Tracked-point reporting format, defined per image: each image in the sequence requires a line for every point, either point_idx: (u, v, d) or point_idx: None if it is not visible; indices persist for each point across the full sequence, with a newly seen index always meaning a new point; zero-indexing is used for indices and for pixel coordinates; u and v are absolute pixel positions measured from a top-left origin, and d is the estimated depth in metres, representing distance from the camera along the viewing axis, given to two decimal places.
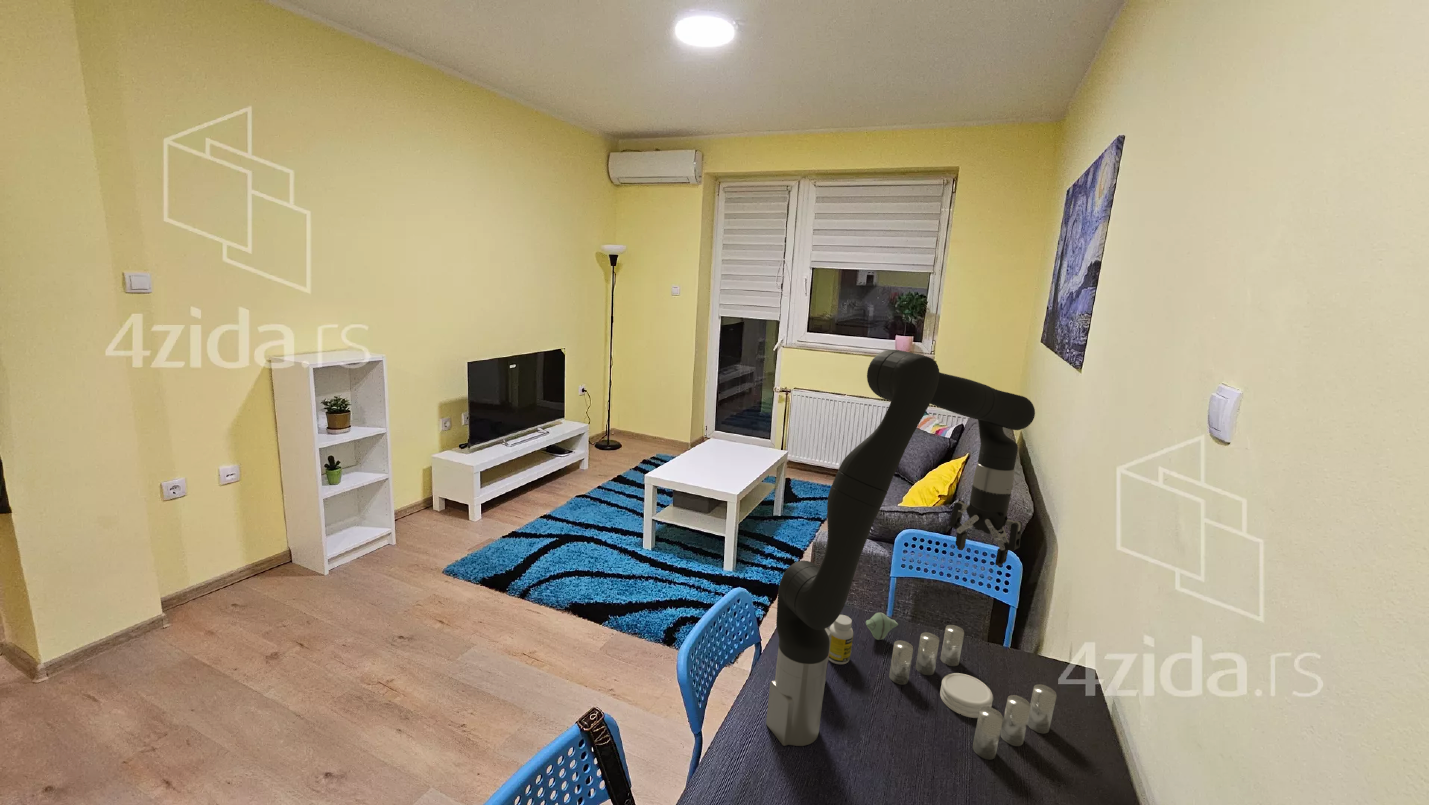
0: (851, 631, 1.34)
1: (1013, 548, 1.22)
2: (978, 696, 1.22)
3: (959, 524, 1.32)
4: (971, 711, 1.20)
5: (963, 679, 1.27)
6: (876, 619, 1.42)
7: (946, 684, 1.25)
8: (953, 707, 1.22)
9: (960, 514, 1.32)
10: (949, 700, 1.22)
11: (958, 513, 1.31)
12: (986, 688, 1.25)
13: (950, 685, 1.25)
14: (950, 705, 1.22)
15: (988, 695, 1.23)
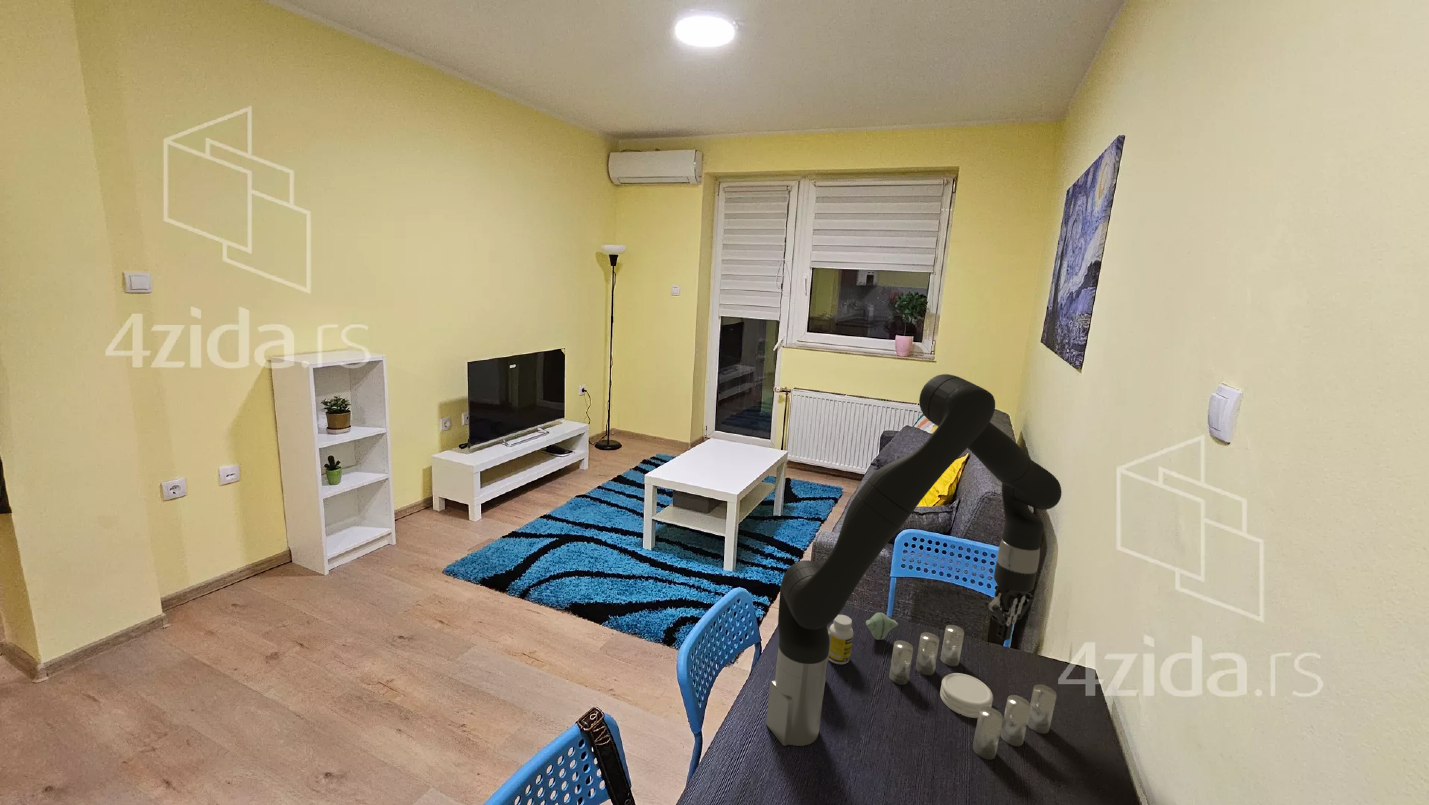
0: (851, 631, 1.34)
1: (1021, 616, 1.25)
2: (978, 696, 1.22)
3: None
4: (971, 711, 1.20)
5: (963, 679, 1.27)
6: (876, 619, 1.42)
7: (946, 684, 1.25)
8: (953, 707, 1.22)
9: None
10: (949, 700, 1.22)
11: None
12: (986, 688, 1.25)
13: (950, 685, 1.25)
14: (950, 705, 1.22)
15: (988, 695, 1.23)
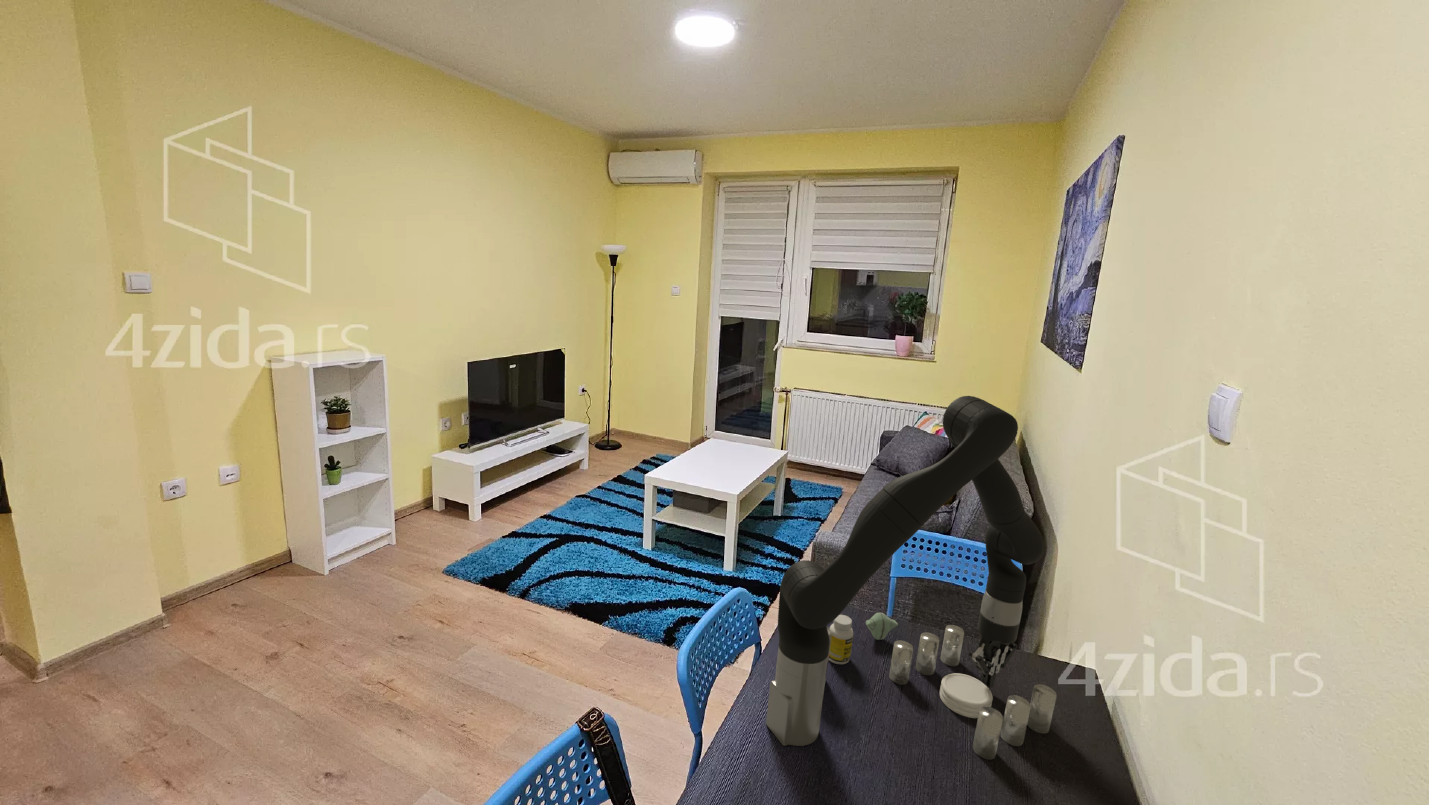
0: (851, 631, 1.34)
1: (1004, 665, 1.27)
2: (977, 696, 1.22)
3: None
4: (971, 711, 1.20)
5: (962, 679, 1.27)
6: (876, 619, 1.42)
7: (946, 684, 1.25)
8: (953, 707, 1.22)
9: None
10: (949, 700, 1.22)
11: None
12: (986, 688, 1.25)
13: (949, 685, 1.25)
14: (950, 705, 1.22)
15: (988, 695, 1.22)
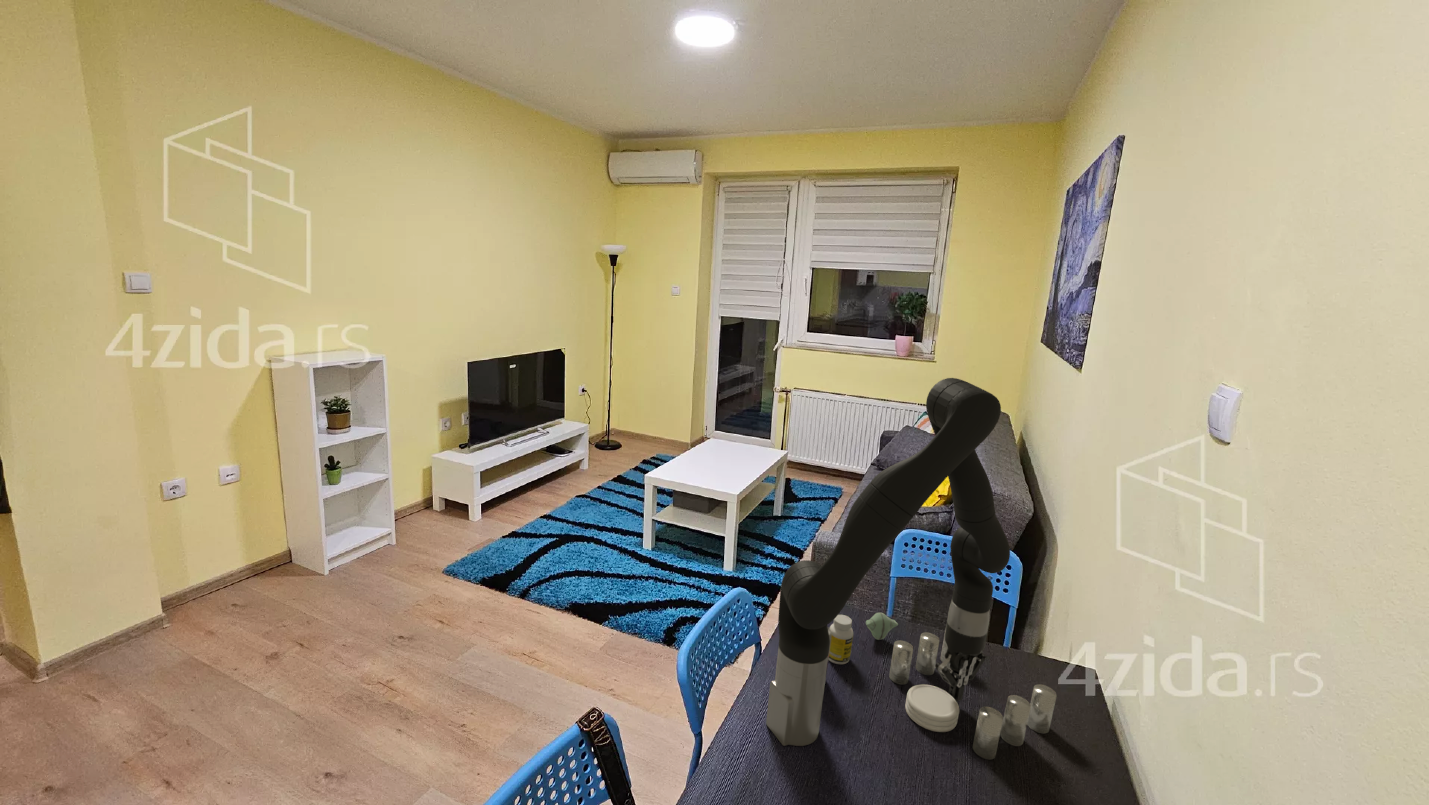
0: (851, 631, 1.34)
1: (973, 676, 1.22)
2: (943, 709, 1.17)
3: None
4: (935, 725, 1.15)
5: (929, 691, 1.22)
6: (876, 619, 1.42)
7: (911, 696, 1.20)
8: (917, 720, 1.17)
9: None
10: (913, 713, 1.18)
11: None
12: (953, 701, 1.20)
13: (915, 697, 1.20)
14: (914, 718, 1.18)
15: (954, 708, 1.18)
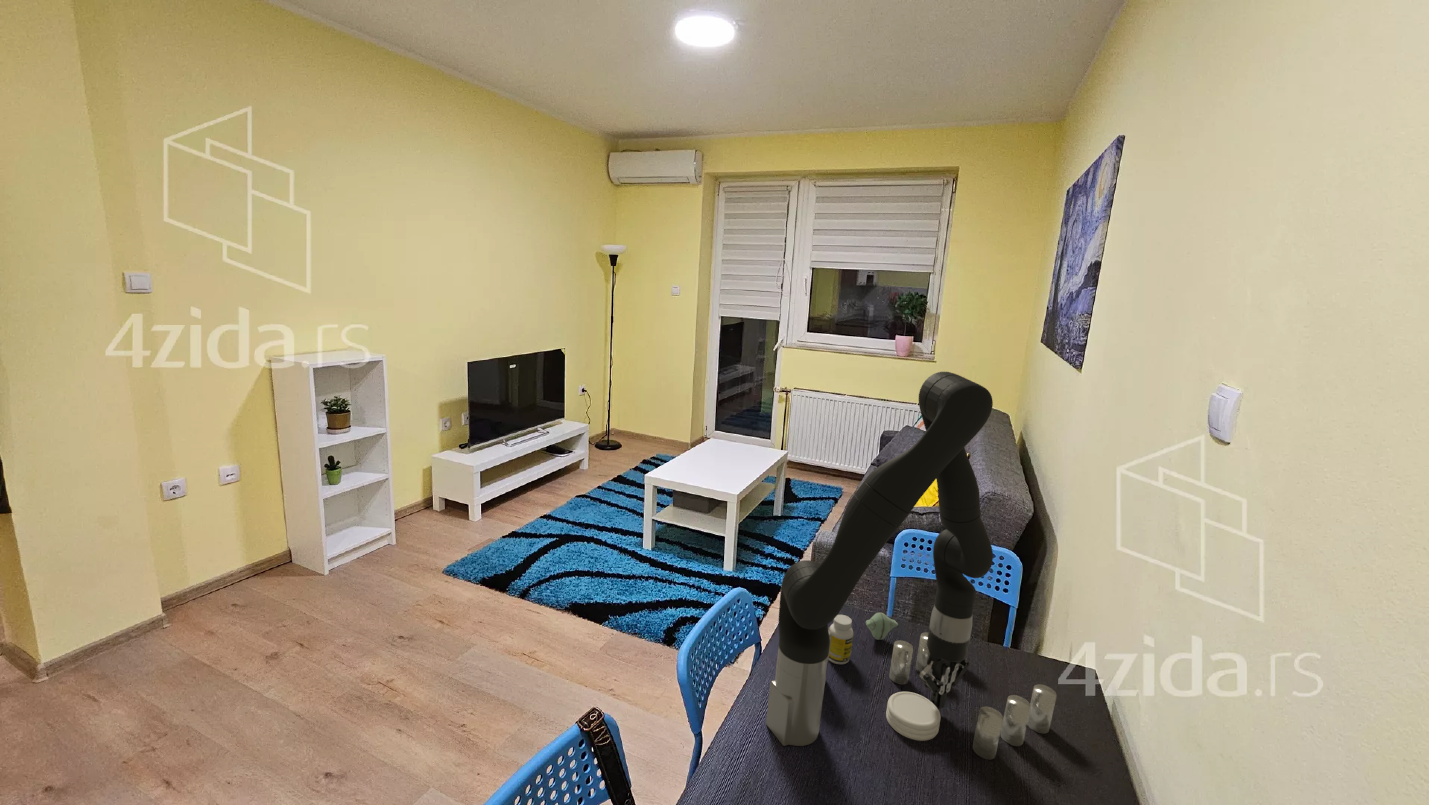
0: (851, 631, 1.34)
1: (956, 683, 1.20)
2: (924, 717, 1.15)
3: (934, 683, 1.18)
4: (915, 733, 1.13)
5: (911, 698, 1.20)
6: (876, 619, 1.42)
7: (892, 703, 1.18)
8: (897, 728, 1.15)
9: None
10: (893, 720, 1.16)
11: None
12: (934, 709, 1.17)
13: (896, 705, 1.18)
14: (894, 726, 1.16)
15: (935, 716, 1.15)
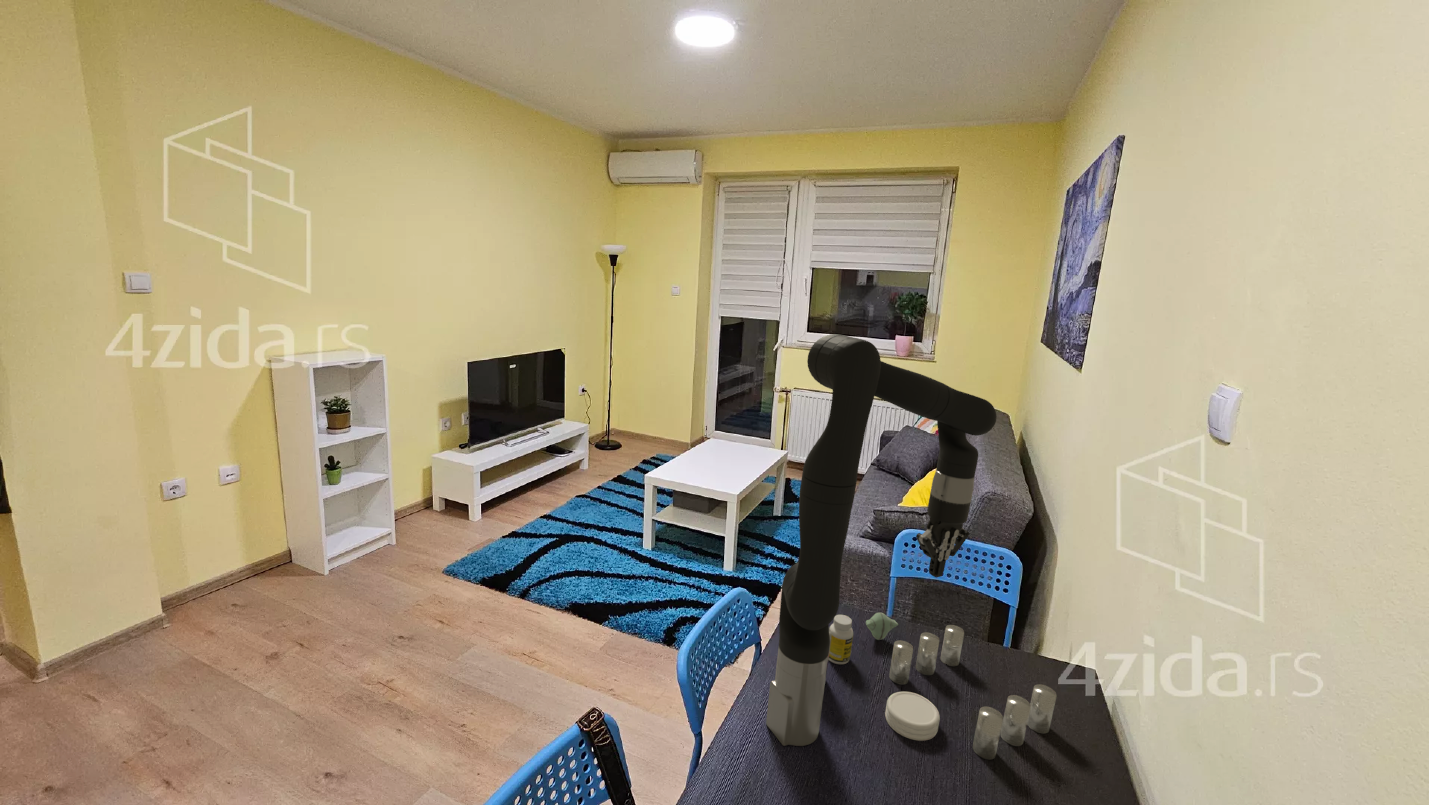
0: (851, 631, 1.34)
1: (955, 552, 1.20)
2: (923, 717, 1.15)
3: None
4: (914, 733, 1.13)
5: (910, 698, 1.20)
6: (876, 619, 1.42)
7: (891, 703, 1.18)
8: (896, 728, 1.15)
9: None
10: (892, 720, 1.16)
11: None
12: (934, 709, 1.17)
13: (895, 705, 1.18)
14: (893, 726, 1.16)
15: (934, 716, 1.15)
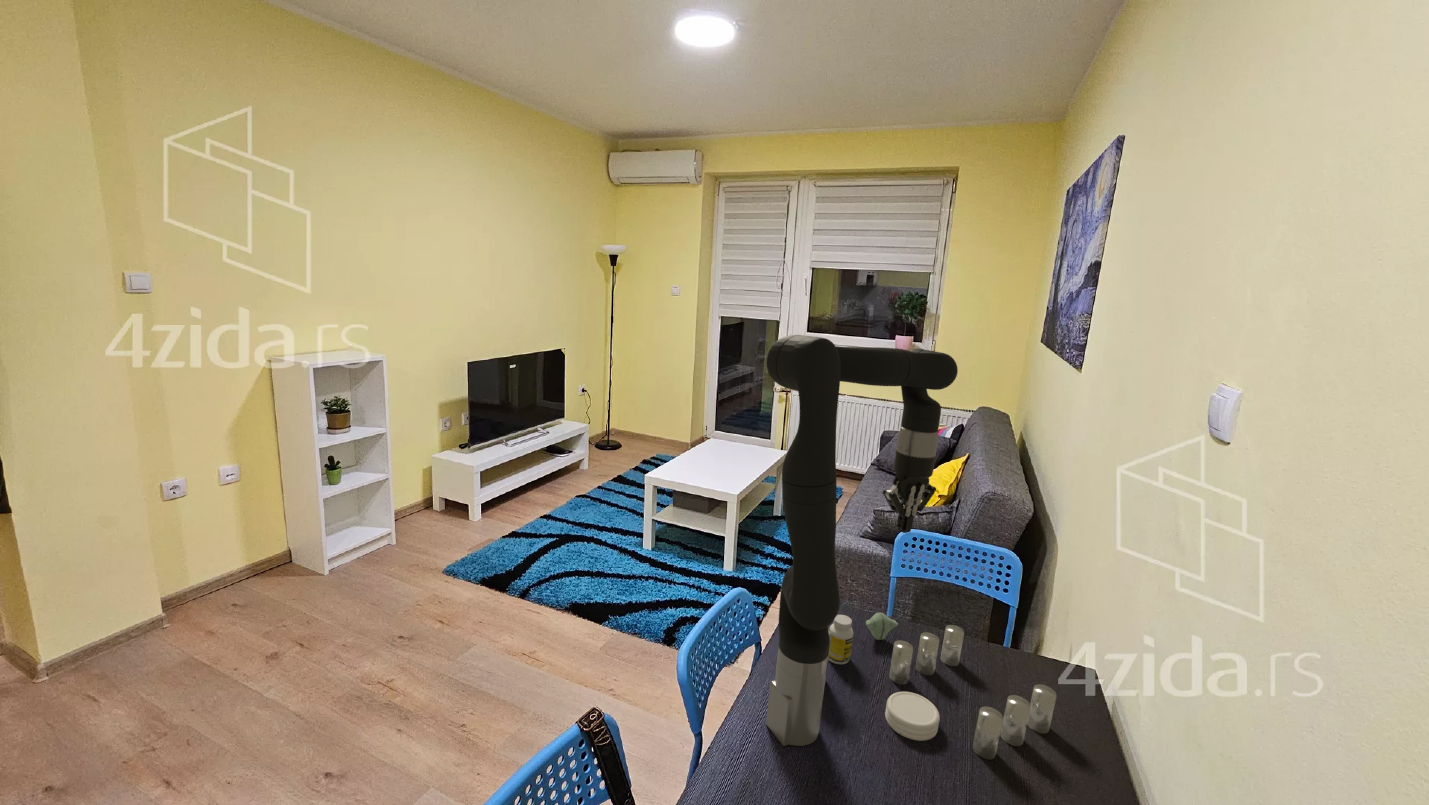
0: (851, 631, 1.34)
1: (922, 508, 1.21)
2: (923, 717, 1.15)
3: None
4: (914, 733, 1.13)
5: (910, 698, 1.20)
6: (876, 619, 1.42)
7: (891, 703, 1.18)
8: (896, 728, 1.15)
9: None
10: (892, 720, 1.16)
11: None
12: (933, 709, 1.17)
13: (895, 705, 1.18)
14: (893, 726, 1.16)
15: (934, 716, 1.15)
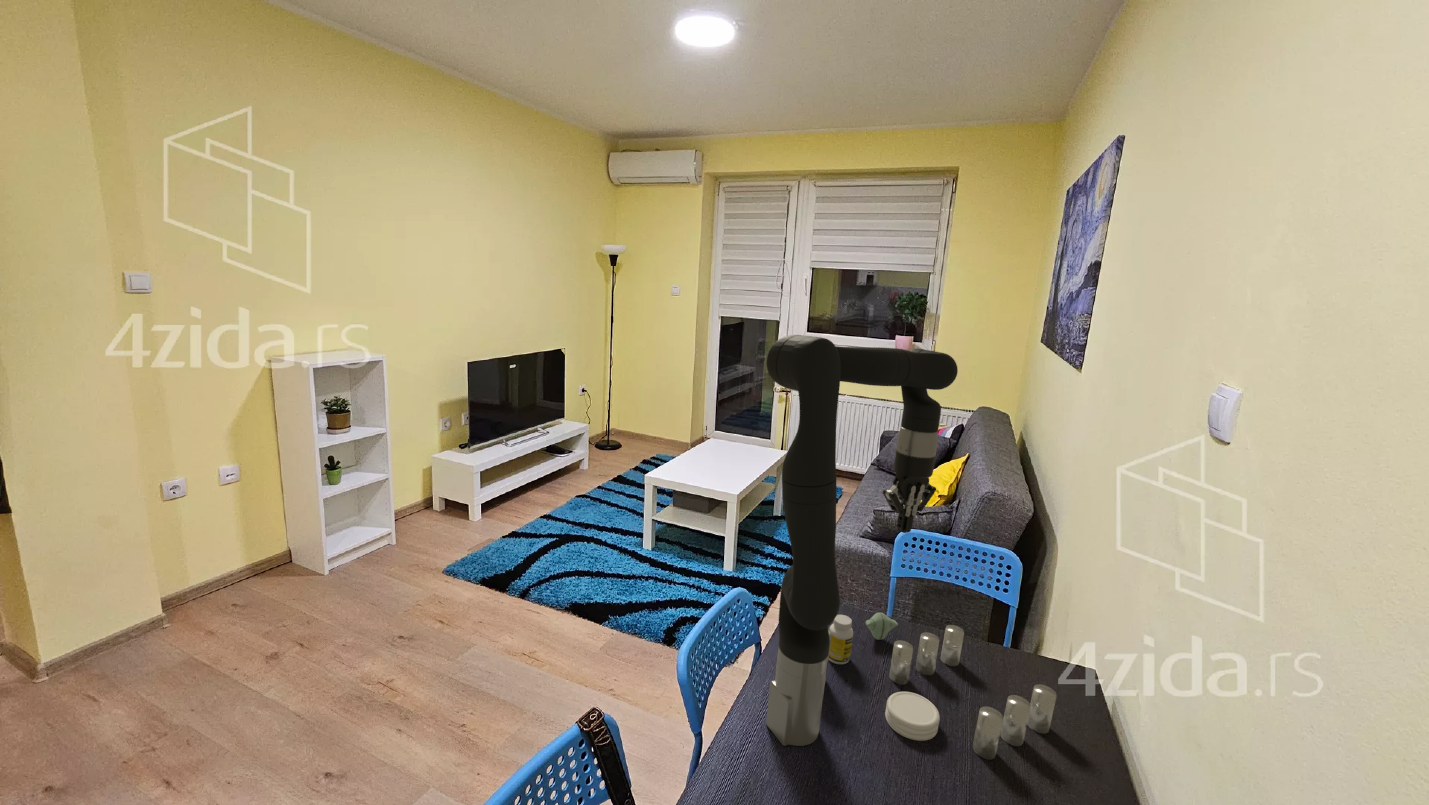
0: (851, 631, 1.34)
1: (922, 508, 1.21)
2: (923, 717, 1.15)
3: None
4: (914, 733, 1.13)
5: (910, 698, 1.20)
6: (876, 619, 1.42)
7: (891, 703, 1.18)
8: (896, 728, 1.15)
9: None
10: (892, 720, 1.16)
11: None
12: (934, 709, 1.17)
13: (895, 705, 1.18)
14: (893, 726, 1.16)
15: (934, 716, 1.15)
